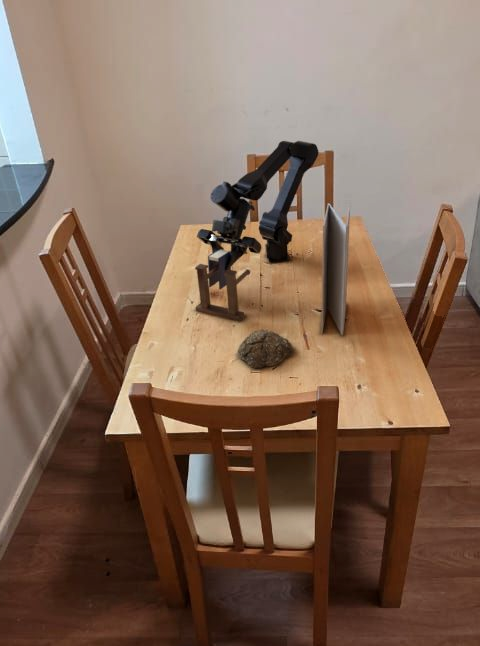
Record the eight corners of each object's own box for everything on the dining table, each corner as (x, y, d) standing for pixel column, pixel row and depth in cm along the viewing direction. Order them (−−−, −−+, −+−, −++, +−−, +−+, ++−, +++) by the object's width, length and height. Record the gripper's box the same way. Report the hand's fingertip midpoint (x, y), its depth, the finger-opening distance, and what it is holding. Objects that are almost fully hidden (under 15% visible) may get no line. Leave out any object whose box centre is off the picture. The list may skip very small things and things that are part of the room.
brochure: (342, 335, 142) (347, 226, 127) (321, 333, 143) (323, 225, 128) (345, 306, 154) (350, 203, 139) (325, 305, 155) (327, 203, 140)
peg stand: (216, 292, 165) (212, 250, 158) (258, 301, 159) (255, 258, 152) (196, 310, 157) (190, 267, 150) (239, 321, 151) (235, 276, 144)
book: (220, 279, 164) (219, 249, 160) (231, 281, 162) (230, 251, 158) (209, 286, 159) (207, 256, 155) (220, 289, 158) (219, 258, 154)
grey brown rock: (259, 333, 145) (258, 317, 143) (298, 349, 138) (298, 332, 136) (227, 357, 137) (225, 340, 134) (267, 375, 130) (266, 358, 127)
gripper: (196, 202, 158) (179, 253, 156) (254, 211, 150) (237, 265, 148) (213, 218, 168) (197, 266, 166) (268, 227, 160) (252, 278, 158)
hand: (220, 268), depth 159 cm, fingers closed on book, 4 cm apart
